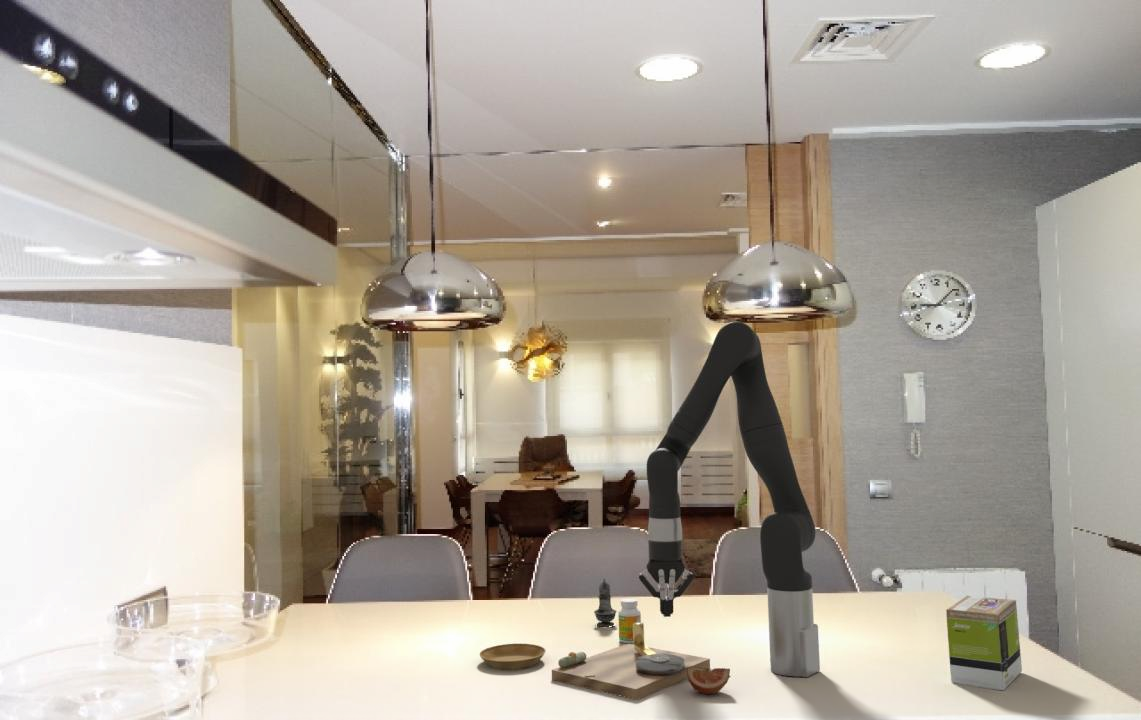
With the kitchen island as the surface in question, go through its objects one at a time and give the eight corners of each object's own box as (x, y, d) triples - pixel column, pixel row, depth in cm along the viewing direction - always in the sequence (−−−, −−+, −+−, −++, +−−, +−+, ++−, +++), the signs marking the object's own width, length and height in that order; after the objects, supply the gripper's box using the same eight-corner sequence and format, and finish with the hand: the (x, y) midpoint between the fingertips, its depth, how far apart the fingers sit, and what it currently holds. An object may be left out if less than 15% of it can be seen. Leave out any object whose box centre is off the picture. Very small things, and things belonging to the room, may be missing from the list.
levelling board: (710, 668, 188) (709, 646, 188) (636, 699, 168) (635, 675, 168) (628, 652, 202) (627, 632, 202) (551, 679, 183) (551, 657, 183)
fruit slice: (730, 689, 173) (729, 663, 174) (731, 699, 167) (730, 673, 167) (688, 687, 175) (687, 662, 175) (686, 698, 168) (686, 672, 169)
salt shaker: (617, 622, 232) (616, 576, 233) (616, 628, 226) (614, 580, 227) (595, 622, 232) (593, 576, 233) (593, 628, 226) (592, 580, 227)
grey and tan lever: (691, 672, 177) (690, 642, 178) (644, 676, 175) (643, 646, 175) (658, 647, 197) (657, 620, 197) (615, 651, 195) (615, 624, 195)
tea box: (970, 665, 185) (966, 593, 186) (1023, 673, 178) (1018, 599, 179) (949, 683, 173) (945, 607, 174) (1004, 692, 167) (999, 613, 168)
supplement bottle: (615, 642, 211) (614, 601, 212) (624, 637, 216) (623, 597, 217) (636, 644, 209) (634, 603, 209) (644, 639, 214) (643, 598, 214)
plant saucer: (485, 676, 188) (485, 663, 188) (474, 658, 202) (474, 646, 202) (553, 669, 191) (552, 656, 192) (537, 652, 206) (537, 640, 206)
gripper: (692, 534, 201) (693, 611, 200) (634, 535, 200) (635, 612, 200) (697, 539, 193) (699, 619, 192) (637, 540, 193) (638, 620, 192)
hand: (666, 615), depth 196 cm, fingers closed
